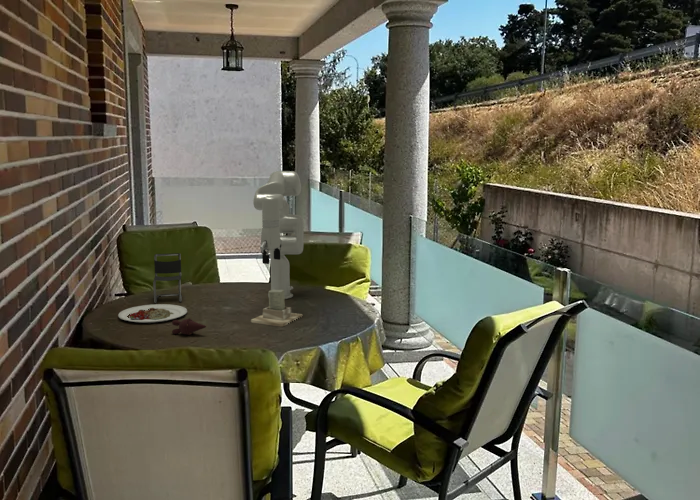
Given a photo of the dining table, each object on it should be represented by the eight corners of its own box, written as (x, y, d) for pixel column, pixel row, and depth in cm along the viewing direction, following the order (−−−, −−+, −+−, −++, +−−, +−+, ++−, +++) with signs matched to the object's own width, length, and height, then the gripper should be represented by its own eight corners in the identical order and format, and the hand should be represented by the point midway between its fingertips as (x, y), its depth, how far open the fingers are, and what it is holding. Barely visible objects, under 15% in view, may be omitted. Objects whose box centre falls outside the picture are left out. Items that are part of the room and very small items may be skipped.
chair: (182, 295, 338) (180, 253, 335) (181, 303, 322) (179, 259, 318) (156, 296, 336) (154, 253, 332) (153, 304, 319) (151, 259, 315)
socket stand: (272, 312, 304) (272, 301, 304) (302, 316, 298) (302, 305, 297) (250, 322, 288) (250, 310, 287) (282, 326, 282) (282, 315, 281)
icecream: (209, 317, 272) (176, 318, 275) (201, 317, 264) (167, 318, 268) (209, 334, 271) (176, 335, 274) (201, 335, 264) (167, 336, 267)
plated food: (200, 312, 306) (200, 305, 305) (156, 328, 279) (156, 321, 278) (150, 305, 318) (150, 298, 318) (103, 320, 291) (103, 313, 291)
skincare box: (285, 316, 295) (285, 289, 293) (282, 318, 290) (281, 291, 288) (272, 315, 296) (271, 288, 294) (268, 317, 292) (268, 291, 290)
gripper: (273, 220, 301) (274, 257, 305) (253, 226, 286) (254, 264, 289) (287, 221, 298) (288, 258, 302) (268, 227, 283) (268, 266, 286)
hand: (271, 261), depth 296 cm, fingers open, 9 cm apart
